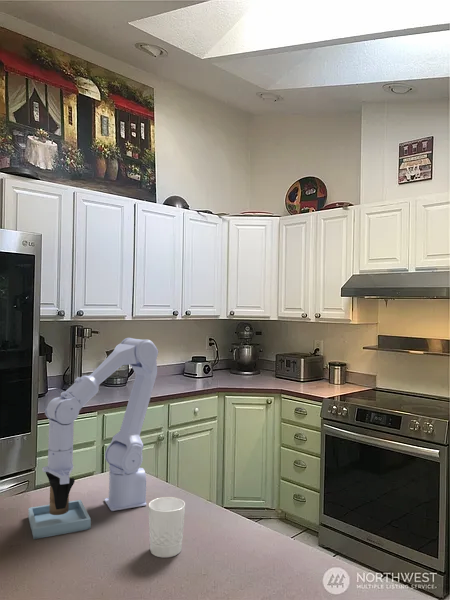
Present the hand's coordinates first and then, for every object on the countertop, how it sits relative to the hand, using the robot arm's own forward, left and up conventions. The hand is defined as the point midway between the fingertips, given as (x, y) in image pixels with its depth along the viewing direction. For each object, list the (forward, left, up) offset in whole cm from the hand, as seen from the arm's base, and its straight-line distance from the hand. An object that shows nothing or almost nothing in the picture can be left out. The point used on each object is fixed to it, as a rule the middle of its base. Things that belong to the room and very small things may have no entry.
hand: (59, 504), depth 118 cm
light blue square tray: (0, 0, -4) cm, 4 cm away
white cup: (-19, +23, -5) cm, 30 cm away
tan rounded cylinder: (0, 0, -2) cm, 2 cm away
